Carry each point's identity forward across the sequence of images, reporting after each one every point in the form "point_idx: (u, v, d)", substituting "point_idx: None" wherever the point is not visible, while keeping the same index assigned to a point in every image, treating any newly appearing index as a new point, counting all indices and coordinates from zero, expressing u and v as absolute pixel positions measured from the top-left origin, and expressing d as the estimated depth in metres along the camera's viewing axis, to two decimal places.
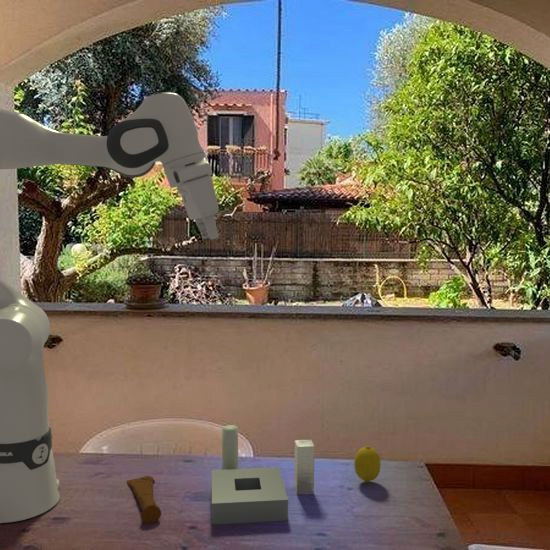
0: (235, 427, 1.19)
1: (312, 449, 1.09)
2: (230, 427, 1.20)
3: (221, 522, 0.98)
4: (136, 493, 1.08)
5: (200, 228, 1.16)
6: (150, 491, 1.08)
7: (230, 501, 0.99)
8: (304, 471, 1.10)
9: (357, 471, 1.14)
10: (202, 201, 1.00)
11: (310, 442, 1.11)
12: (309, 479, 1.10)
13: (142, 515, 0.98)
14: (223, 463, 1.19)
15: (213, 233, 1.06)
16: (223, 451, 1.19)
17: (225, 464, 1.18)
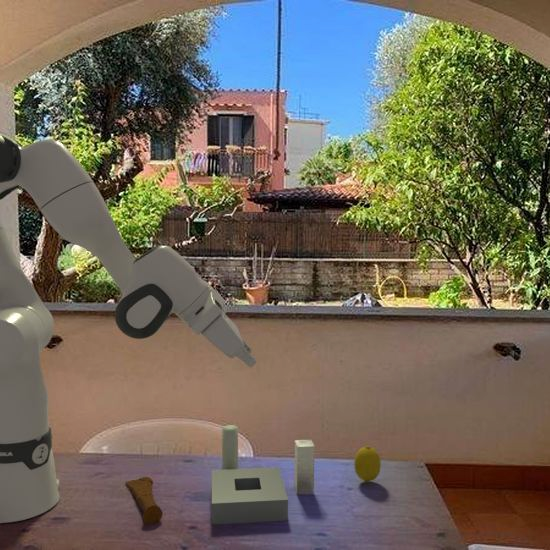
0: (235, 427, 1.19)
1: (312, 449, 1.09)
2: (230, 427, 1.20)
3: (221, 522, 0.98)
4: (135, 494, 1.07)
5: None
6: (150, 492, 1.07)
7: (230, 501, 0.99)
8: (304, 471, 1.10)
9: (357, 471, 1.14)
10: (225, 345, 0.98)
11: (310, 442, 1.11)
12: (309, 479, 1.10)
13: (144, 516, 0.98)
14: (223, 463, 1.19)
15: (250, 361, 1.04)
16: (223, 451, 1.19)
17: (225, 464, 1.18)
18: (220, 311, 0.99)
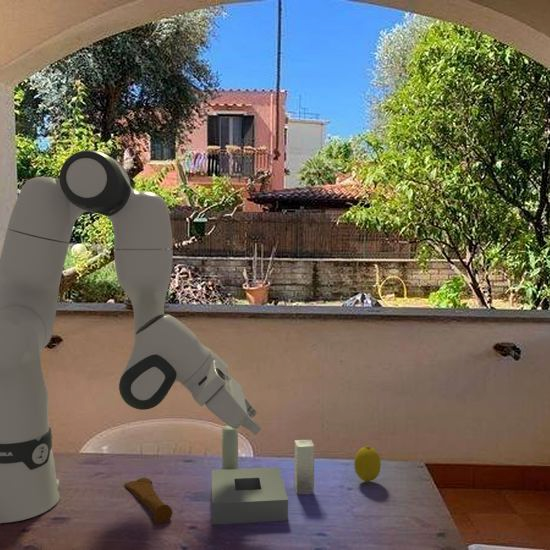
0: None
1: (312, 449, 1.09)
2: (230, 427, 1.20)
3: (221, 522, 0.98)
4: (139, 495, 1.07)
5: None
6: (153, 492, 1.07)
7: (230, 501, 0.99)
8: (303, 471, 1.10)
9: (357, 471, 1.14)
10: (228, 417, 0.98)
11: (310, 442, 1.11)
12: (309, 479, 1.10)
13: (154, 515, 0.98)
14: (223, 463, 1.19)
15: (254, 428, 1.04)
16: (223, 451, 1.19)
17: (225, 464, 1.18)
18: (223, 382, 0.99)
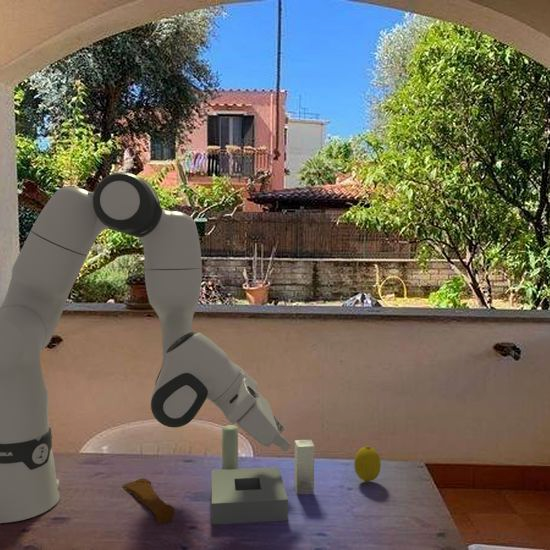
0: (235, 427, 1.19)
1: (312, 449, 1.09)
2: (230, 427, 1.20)
3: (221, 522, 0.98)
4: (139, 496, 1.07)
5: None
6: (154, 492, 1.07)
7: (230, 501, 0.99)
8: (304, 471, 1.10)
9: (357, 471, 1.14)
10: (260, 435, 0.99)
11: (310, 442, 1.11)
12: (309, 479, 1.10)
13: (157, 516, 0.98)
14: (223, 463, 1.19)
15: (284, 445, 1.05)
16: (223, 451, 1.19)
17: (225, 464, 1.18)
18: (254, 400, 1.00)
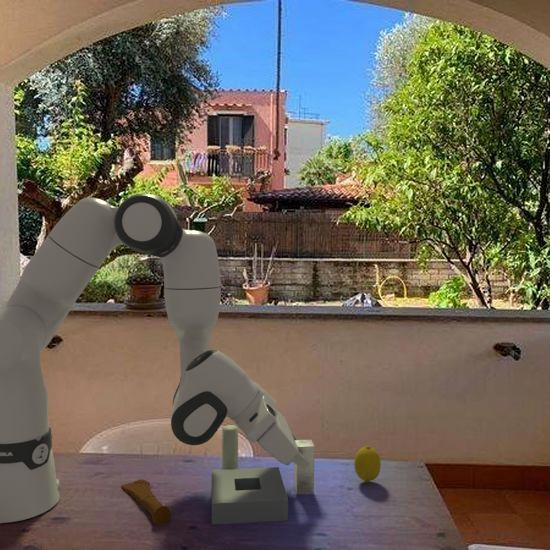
0: (235, 427, 1.19)
1: (312, 449, 1.09)
2: (230, 427, 1.20)
3: (221, 522, 0.98)
4: (137, 497, 1.06)
5: None
6: (151, 493, 1.07)
7: (230, 501, 0.99)
8: (304, 471, 1.10)
9: (357, 471, 1.14)
10: (280, 453, 1.00)
11: (310, 442, 1.11)
12: (309, 479, 1.10)
13: (153, 517, 0.98)
14: (223, 463, 1.19)
15: (303, 463, 1.06)
16: (223, 451, 1.19)
17: (225, 464, 1.18)
18: (274, 419, 1.01)
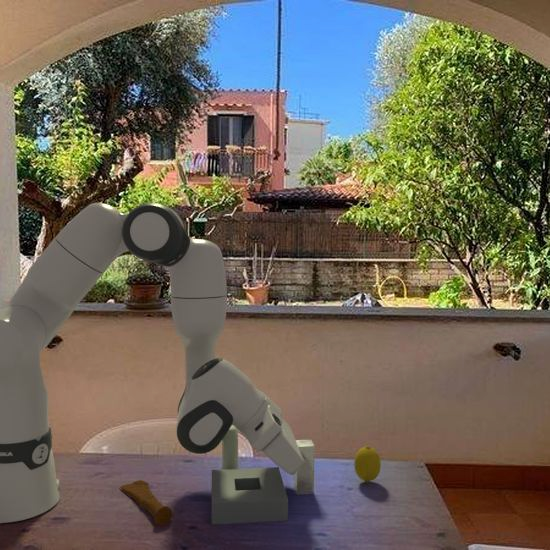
0: (235, 427, 1.19)
1: (312, 449, 1.09)
2: (230, 427, 1.20)
3: (221, 522, 0.98)
4: (137, 498, 1.06)
5: None
6: (151, 494, 1.06)
7: (230, 501, 0.99)
8: None
9: (357, 471, 1.14)
10: (286, 463, 1.01)
11: (310, 442, 1.11)
12: (309, 479, 1.10)
13: (155, 518, 0.97)
14: (223, 463, 1.19)
15: (306, 467, 1.08)
16: (223, 451, 1.19)
17: (225, 464, 1.18)
18: (280, 429, 1.01)
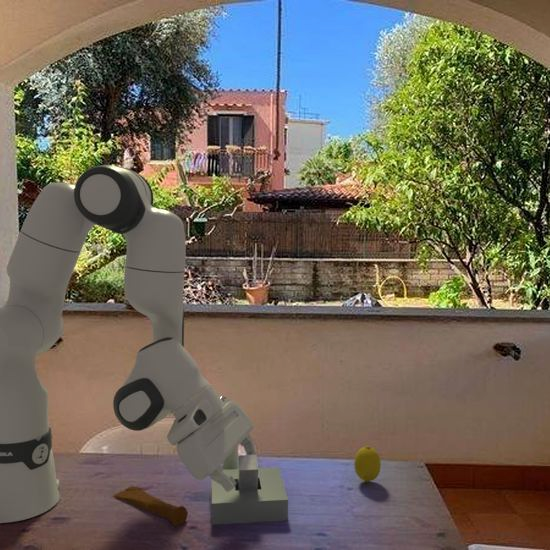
0: None
1: (256, 471, 1.01)
2: None
3: (221, 522, 0.98)
4: (140, 503, 1.04)
5: (246, 450, 1.06)
6: None
7: (230, 501, 0.99)
8: (246, 488, 1.03)
9: (357, 471, 1.14)
10: (192, 466, 0.92)
11: (254, 461, 1.02)
12: None
13: (173, 519, 0.97)
14: (223, 463, 1.19)
15: (226, 485, 0.94)
16: None
17: (225, 464, 1.18)
18: (194, 428, 0.92)
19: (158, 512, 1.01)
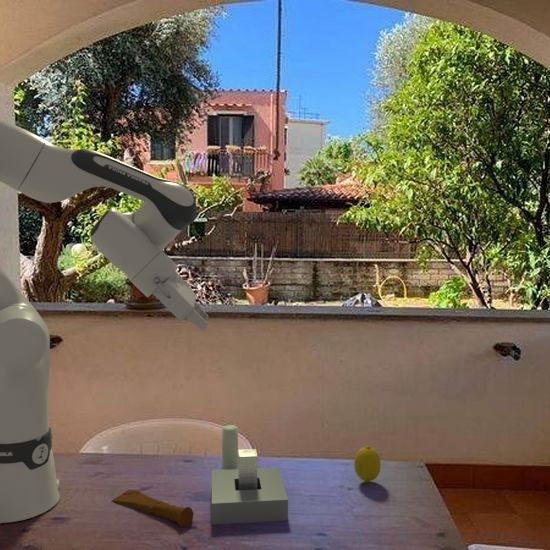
0: (235, 427, 1.19)
1: (255, 459, 1.04)
2: (230, 427, 1.20)
3: (221, 522, 0.98)
4: (143, 506, 1.03)
5: None
6: (156, 500, 1.04)
7: (230, 501, 0.99)
8: (246, 483, 1.05)
9: (357, 471, 1.14)
10: None
11: (253, 452, 1.06)
12: None
13: (180, 520, 0.97)
14: (223, 463, 1.19)
15: None
16: (223, 451, 1.19)
17: (225, 464, 1.18)
18: None
19: (163, 514, 1.00)
